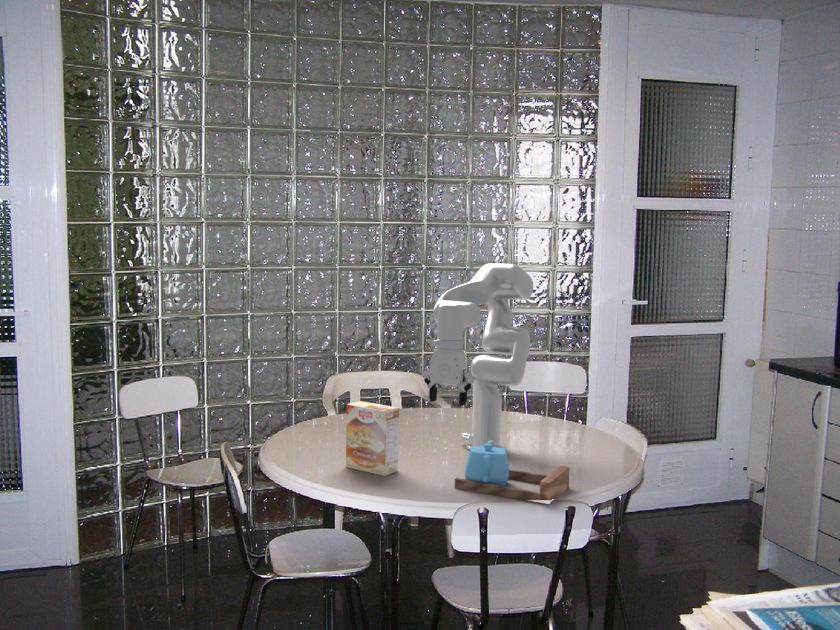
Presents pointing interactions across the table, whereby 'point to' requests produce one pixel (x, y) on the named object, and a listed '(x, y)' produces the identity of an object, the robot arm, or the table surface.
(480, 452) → the teapot
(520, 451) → the table surface
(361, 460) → the coffeecake box
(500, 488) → the guide track
